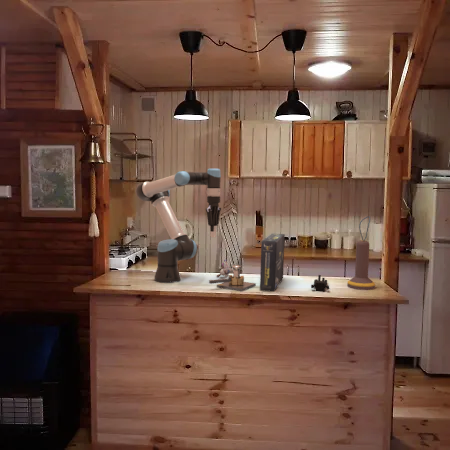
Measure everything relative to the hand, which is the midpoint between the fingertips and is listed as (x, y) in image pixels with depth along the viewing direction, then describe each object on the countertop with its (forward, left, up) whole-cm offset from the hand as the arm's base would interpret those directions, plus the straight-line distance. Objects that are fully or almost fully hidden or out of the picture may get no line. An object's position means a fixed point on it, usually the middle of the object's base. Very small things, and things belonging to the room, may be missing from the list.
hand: (213, 237), depth 276 cm
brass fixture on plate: (+17, -2, -26) cm, 31 cm away
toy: (+55, +28, -27) cm, 67 cm away
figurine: (-3, +19, -27) cm, 33 cm away
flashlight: (+75, +39, -27) cm, 89 cm away
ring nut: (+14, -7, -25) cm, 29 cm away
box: (+31, +15, -27) cm, 44 cm away
